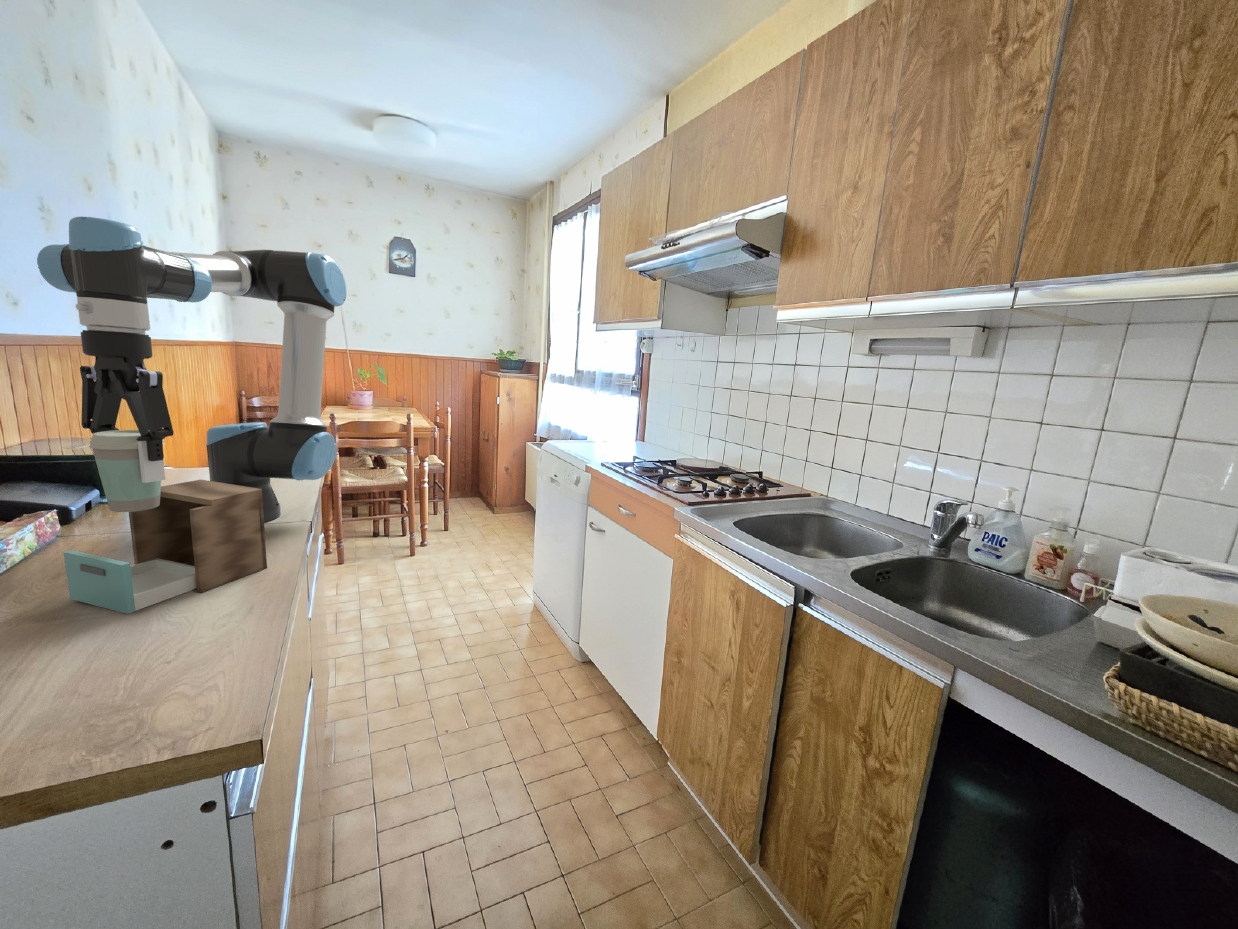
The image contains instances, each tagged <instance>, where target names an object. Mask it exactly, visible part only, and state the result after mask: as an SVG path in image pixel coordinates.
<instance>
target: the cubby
mask: <svg viewBox="0 0 1238 929" xmlns="http://www.w3.org/2000/svg"><path fill="white" fill-rule="evenodd" d="M128 518H129V528H130V536H131V544H132V552H133V561H134V565H135V564H139V563H142V562H146V561H149V560H152V559H156V558H159V559H164V560H168V561H173V562H178V563H182V564H187V565H192V566H195V575H196V585H197V588H196V589H193V590H190V591H189V592H195V593H197V594H202V593H205V592H208V591H210V590H213V589H215V588H218V587H221V586H223V585H226V584H228V583H231V582H234V581H237V580H239V579H242V578H245V577H246V576H250V575H252V574H256V573H258V572H260V571H262V570H266V569H268V562H267V561H268V560H267V545H266V532H265V529H266V528H265V522H264V513H263V497H262V489H258V488H252V487H246V486H239V485H233V484H226V483H220V482H214V481H210V480H207V479H206V480H205V479H196V480H191V481H183V482H179V483H175V484H174V483H173V484H169V485H161V492H160V505H159V506H158V507H156V508H153V509H149V510H143V511H135V512H128Z"/></svg>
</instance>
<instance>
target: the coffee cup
mask: <svg viewBox="0 0 1238 929" xmlns="http://www.w3.org/2000/svg"><path fill="white" fill-rule="evenodd" d="M138 437H141V435H140V432H139V430H138V429H124V430H123V429H119V430H115V431H103V432H97V433H94V434H92V437H91V440H90V441H89V446H88V447H89V448H90V449H92V451H93V456H94V459H95V463H96V467H97V470H98V474H100V475H99V477H100V481H101V484H102V487H103V492H104V495H105V498H106V502H107V506H108V508H109V511H112V512H115V513H129V512H135V511H143V510H149V509H153V508H156V507H158V506H159V505H160V492H161V486H162V480H160V481H154V482H148V483H143V482H142V478H141V469H140V459H139V450H138V440H137V438H138ZM164 439H165V438H164ZM164 439H163V440H162V444H163V446H165V445H166V443H165V442H164V441H165V440H164Z"/></svg>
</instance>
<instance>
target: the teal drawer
mask: <svg viewBox="0 0 1238 929" xmlns="http://www.w3.org/2000/svg"><path fill="white" fill-rule="evenodd" d="M62 553H63V559H64V566H65V567H64V568H65V573H66V579H67V586H68V587H67V588H68V592H69V593H68V595H69V599H70V600H73V601H77V602H81V603H85V604H90V605H91V606H92V605H93V606H97V607H101V608H106V609H108V610H111V611H116V612H121V613H123V614H130V613H133V612H135V611H139V610H141V609H144V608H146V607H149V606H152V605H154V604H158V603H160V602H163V601H165V600H168V599H172V598H173V597H176V596H178V595H181V594H185V593H187V592H191V591H190V590H193V589H196V588H197V585H196V575H195V566H192V565H187V564H182V563H178V562H173V561H168V560H164V559H159V558H156V559H152V560H149V561H146V562H142V563H139V564H135V563H134V564H132V565H131V562H128V561H122V560H118V559H114V558H109V557H105V556H101V555H95V554H93V553H92V554H90V553H86V552H83V551H78V550H73V549H71V550H66V551H63V552H62Z"/></svg>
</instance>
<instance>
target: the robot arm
mask: <svg viewBox="0 0 1238 929" xmlns="http://www.w3.org/2000/svg"><path fill="white" fill-rule="evenodd" d="M36 264H37V268H38V270H39V273H40V275H41V277H43V279H44V281H46V282H47V283H48V284H49V285H50V286H52V287H54V288H55V289H57V290H60V291H63V292H68V293H75V294H76V299H77V300H76V301H77V303H76V304H75V308H76V310H77V311H78V318H79V324H80V325H81V326H83V327H86V329H82V331H80V339H81V340H80V341H81V347H82V353H83V354H85V355H86V356H90V357H94V358H95V362H94V365H93V366H92V365H91V366H89V365H81V366H80V367H79V372H80V377H81V382H82V383H81V384H82V385H81V427H82V429H84V430H87V429H88V430H90V432H91V434H92V435H93V434H94V433H97V432H103V431H115V430H120V429H119V428H118V427H116V425H117V424H116V423H117V422H118V420H117V419H118V416H119V412H120V408H121V403H122V400H125V402H126V404H127V406H128V410H129V411H130V413H131V415H132V418H133V421H134V423H135V425H136V428H137V430H139V432H140V435H141V437H138V438H137V440H138V450H139V459H140V469H141V478H142V482H143V483H148V482H154V481H160V480H161V481H165V480H166V474H165V463H164V458H165V457H164V445H163V444H162V440H163V439H166V438H168V437H173V435H174V429H173V425H172V421H171V417H170V413H169V407H168V403H167V400H166V395H165V391H164V388H163V387H164V386H163V383H164V382H163V380H164V376H163V373H162V372H161V371H156V370H155V371H152V370H148V369H147V367H146V366H145V362H144V360H146V359H147V360H148V359H152V357H153V346H152V338H151V336H150V335H149V334H146V331H147V332H148V331H150V330H151V324H150V314H149V313H150V312H149V307H148V306H149V305H148V299H158V300H159V299H160V300H161V299H162V300H171V301H177V302H179V303H200V302H203V301H204V300H205V299H207V298H208V297H209V295H210V294H211V293H222V294H223V295H225V296H230V297H245V298H250V299H251V298H252V299H258V300H263V301H270V302H276V303H277V307H278V308H279V310H281V311H282V312H283V314H284V317H283V331H282V333H283V334H282V347H281V348H282V349H281V360H280V361H281V363H280V364H281V366H280V379H279V391H278V392H279V393H278V395H279V396H278V410H277V412H278V413H277V415H276V416H275V417H273V418H272V419H270V421H269V426H268V424H267V423H266V422H263V421H255V422H240V423H231V424H223V425H217V426H216V425H215V426H212V427H210V428H209V429H208V430H207V432H206V444H205V448H206V455H207V462H208V474H209V475H208V476H209V481H214V482H220V483H226V484H233V485H239V486H246V487H252V488H258V489H262V497H263V513H264V523H266V522H270V521H273V520H275V519H277V518H279V517H281V514H282V513H281V505H280V502H279V501H278V498H277V496H276V493H275V492H274V489H273V487H272V485H271V479H279V480H280V479H284V480H296V481H299V482H300V481H304V480H305V481H315V480H319V479H321V478H323V477H324V476H326V475H327V474H328V472H329V471H330V470H331V468H332V467H333V466H334V465H333V464H334V462H335V460H336V456H337V443H336V439H335V437H334V436H333V435H332V434H330V433H329V432H328V425H327V424H326V423H325V422H324V421H323V420H322V419H321V415H322V414H321V413H322V398H323V395H322V394H323V382H324V366H325V365H324V364H325V351H326V350H325V349H326V335H327V321H329V320H330V319H332V318H333V317H334V316H335V307H339V306H343V305H344V303H345V301H346V299H347V285H346V280H345V277H344V274H343V272H342V271H341V270H342V269H341V268H340V266H339V265H338V264H337V262H336V261H335V259H333V258H332V257H330V256H329V255H327V254H323V253H314V252H312V251H308V252H301V251H288V250H273V249H253V250H252V249H251V250H250V249H249V250H235V251H234V250H231V251H228V250H219V251H217V252H214V253H213V254H203V253H193V252H192V253H191V252H175V251H165V250H161V249H157V248H153V247H149V246H147V245H144V241H143V240H142V236H141V233H140V231H139V230H138V229H137V228H136V227H134V226H132V225H130V224H128V223H124V222H121V221H116V220H112V219H107V218H100V217H93V216H74V217H72V218H70V220H69V221H68V243H64V244H48V245H46V246H44V247H43V248H42V249H41V250H40V251H38V254H37V258H36ZM98 474H99V473H98ZM99 476H100V474H99Z"/></svg>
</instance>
